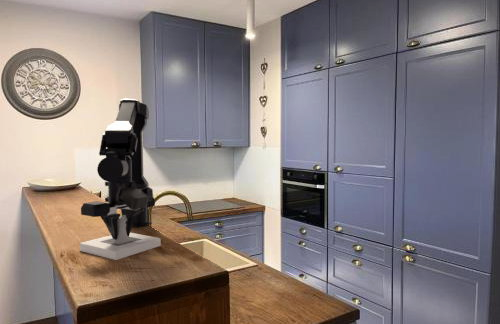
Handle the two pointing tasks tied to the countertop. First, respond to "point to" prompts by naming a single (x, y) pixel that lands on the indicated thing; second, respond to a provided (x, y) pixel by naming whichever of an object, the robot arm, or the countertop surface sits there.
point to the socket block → (120, 246)
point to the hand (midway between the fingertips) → (121, 237)
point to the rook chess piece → (121, 231)
